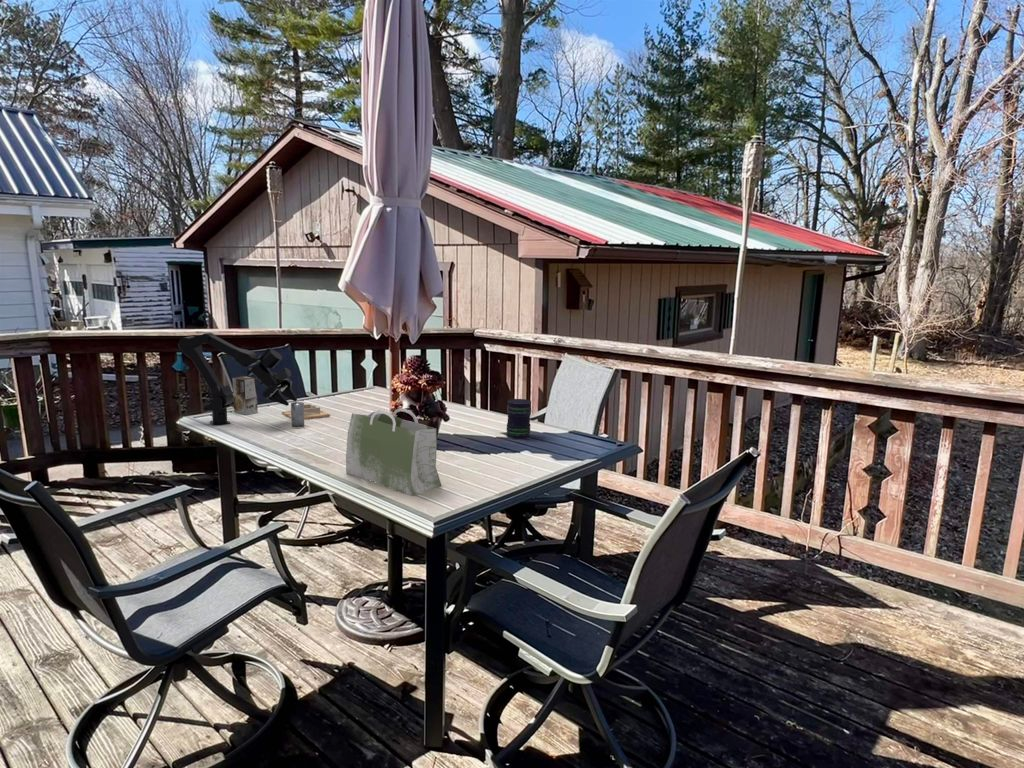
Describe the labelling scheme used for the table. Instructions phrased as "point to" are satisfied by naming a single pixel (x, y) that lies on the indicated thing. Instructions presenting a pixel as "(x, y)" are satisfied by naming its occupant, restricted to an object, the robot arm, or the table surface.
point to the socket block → (310, 412)
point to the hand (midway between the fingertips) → (292, 402)
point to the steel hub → (297, 414)
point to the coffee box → (245, 395)
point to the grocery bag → (393, 452)
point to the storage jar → (518, 418)
